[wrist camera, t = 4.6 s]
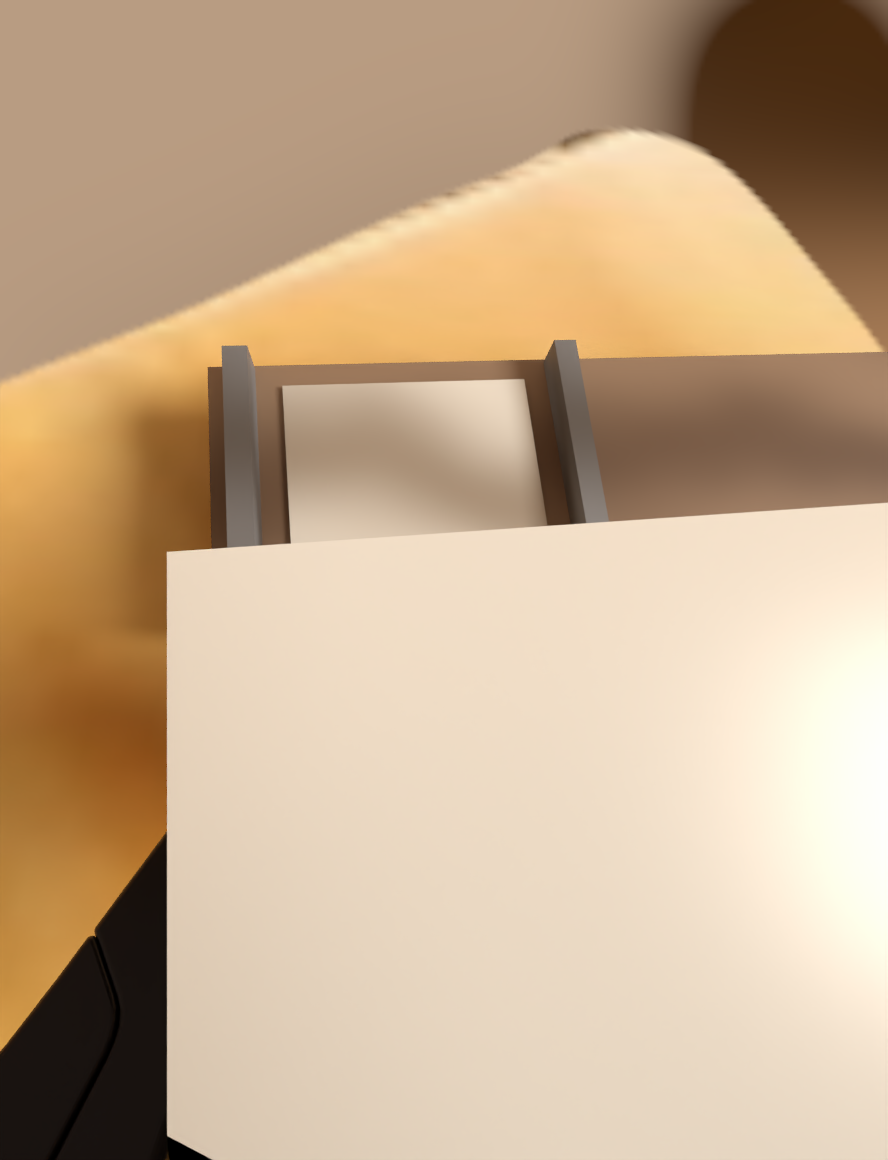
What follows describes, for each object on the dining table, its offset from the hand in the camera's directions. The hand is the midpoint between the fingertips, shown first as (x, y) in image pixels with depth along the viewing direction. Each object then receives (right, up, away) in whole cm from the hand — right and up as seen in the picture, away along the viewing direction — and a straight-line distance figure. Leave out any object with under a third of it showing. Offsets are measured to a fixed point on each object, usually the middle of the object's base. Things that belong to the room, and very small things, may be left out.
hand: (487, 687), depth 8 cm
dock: (+3, +4, +10) cm, 12 cm away
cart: (-1, -3, +6) cm, 7 cm away
